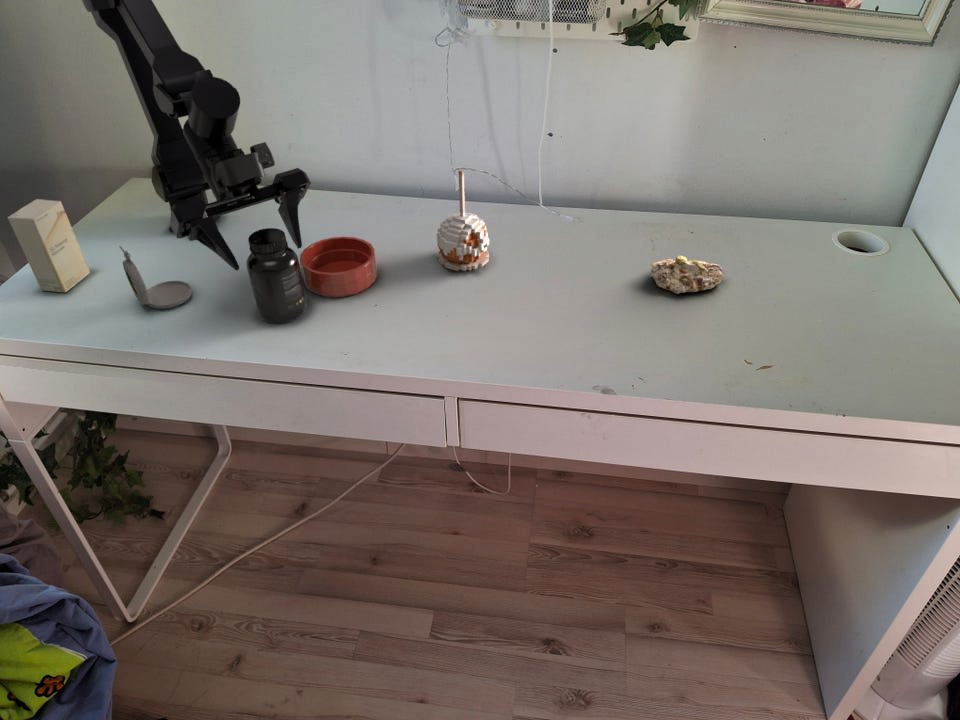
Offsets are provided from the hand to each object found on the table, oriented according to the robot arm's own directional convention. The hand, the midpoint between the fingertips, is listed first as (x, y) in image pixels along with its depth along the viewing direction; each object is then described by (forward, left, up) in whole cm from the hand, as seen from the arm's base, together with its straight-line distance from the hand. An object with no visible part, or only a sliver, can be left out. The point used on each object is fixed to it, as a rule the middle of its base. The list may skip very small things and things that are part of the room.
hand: (269, 258), depth 97 cm
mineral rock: (-16, +57, -9) cm, 60 cm away
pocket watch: (+1, -18, -9) cm, 20 cm away
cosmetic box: (-2, -35, -9) cm, 37 cm away
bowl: (-9, +6, -8) cm, 14 cm away
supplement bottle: (0, +1, -9) cm, 9 cm away
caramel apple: (-17, +24, -9) cm, 30 cm away
